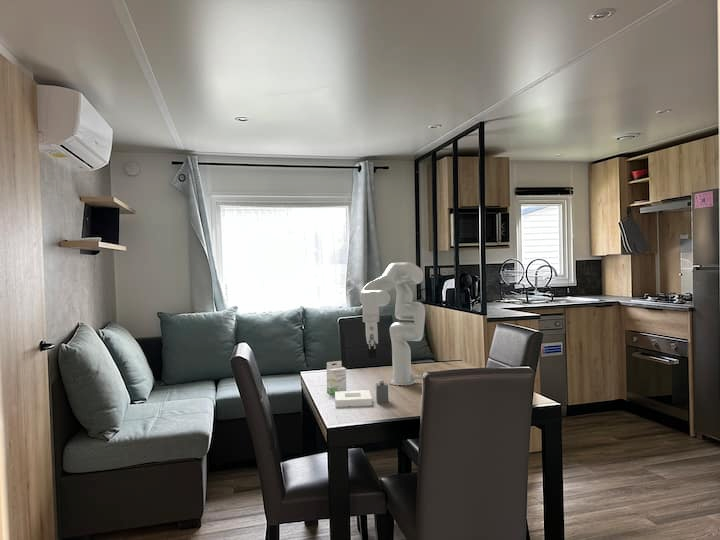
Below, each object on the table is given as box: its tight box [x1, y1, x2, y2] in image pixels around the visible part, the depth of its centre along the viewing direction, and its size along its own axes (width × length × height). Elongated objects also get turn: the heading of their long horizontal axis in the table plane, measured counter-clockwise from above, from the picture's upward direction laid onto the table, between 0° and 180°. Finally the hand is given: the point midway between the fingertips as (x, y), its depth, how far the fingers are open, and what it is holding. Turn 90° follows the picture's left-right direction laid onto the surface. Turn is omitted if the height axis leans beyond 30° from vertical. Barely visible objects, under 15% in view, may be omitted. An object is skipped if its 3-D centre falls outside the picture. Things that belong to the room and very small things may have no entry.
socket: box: [334, 389, 373, 408], centre depth 230 cm, size 16×16×3 cm
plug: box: [375, 379, 390, 405], centre depth 228 cm, size 5×5×10 cm
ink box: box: [326, 360, 347, 395], centre depth 249 cm, size 9×5×15 cm, turn 118°
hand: (371, 356), depth 231 cm, fingers open, 9 cm apart
